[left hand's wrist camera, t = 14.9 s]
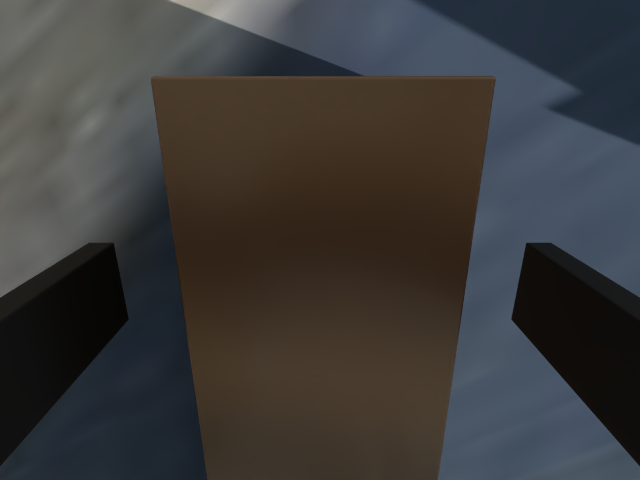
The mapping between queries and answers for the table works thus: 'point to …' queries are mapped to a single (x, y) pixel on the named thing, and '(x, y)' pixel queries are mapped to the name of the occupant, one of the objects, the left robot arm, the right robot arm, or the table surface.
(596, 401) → the left robot arm
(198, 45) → the table surface
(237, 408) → the post
